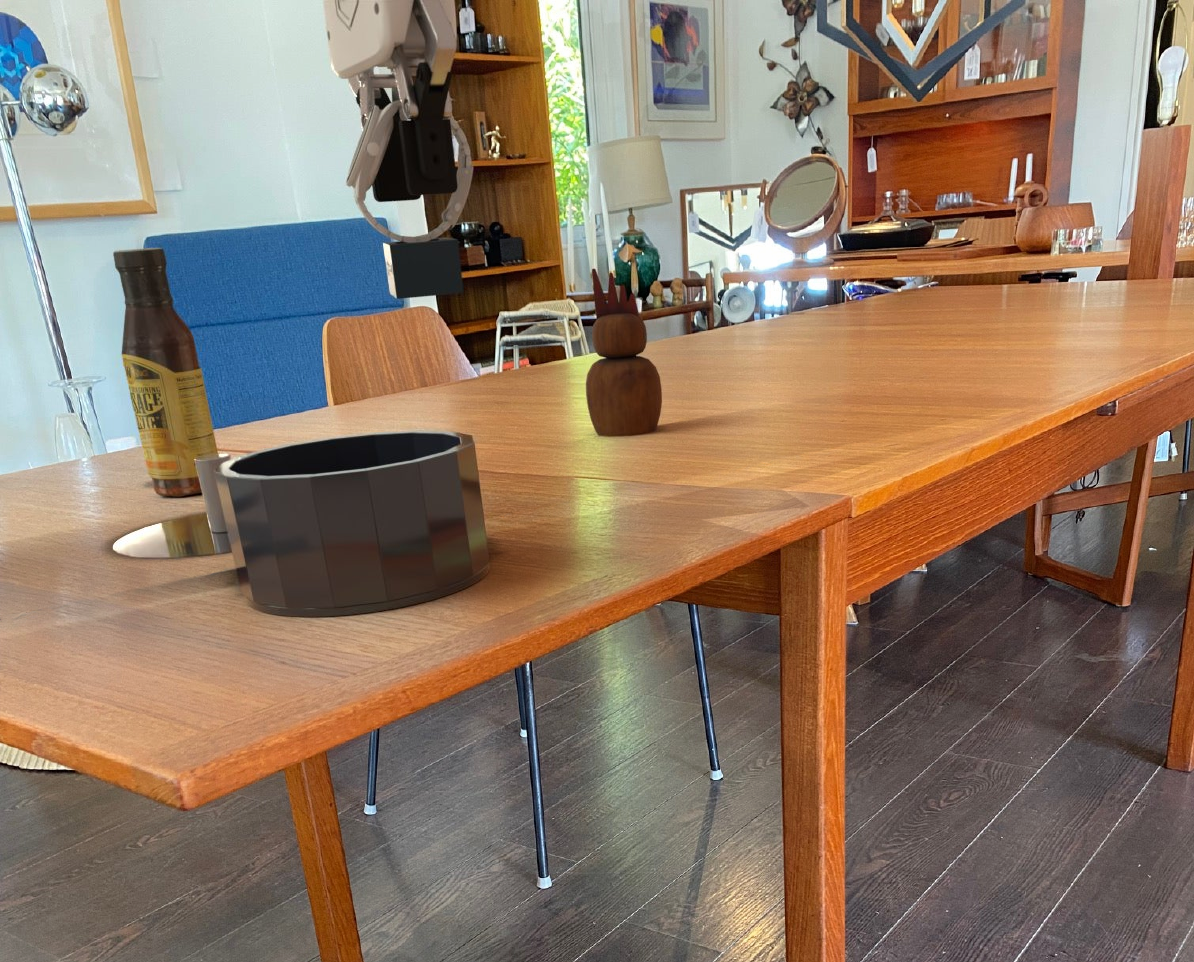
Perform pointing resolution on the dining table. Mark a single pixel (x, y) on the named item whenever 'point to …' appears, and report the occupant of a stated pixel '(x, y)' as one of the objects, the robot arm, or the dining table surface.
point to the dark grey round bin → (355, 522)
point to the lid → (185, 525)
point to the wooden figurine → (621, 368)
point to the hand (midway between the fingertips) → (414, 194)
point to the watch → (410, 259)
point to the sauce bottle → (163, 375)
